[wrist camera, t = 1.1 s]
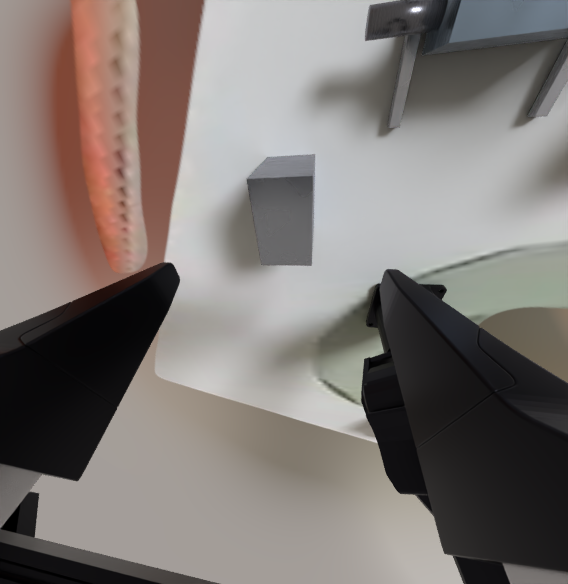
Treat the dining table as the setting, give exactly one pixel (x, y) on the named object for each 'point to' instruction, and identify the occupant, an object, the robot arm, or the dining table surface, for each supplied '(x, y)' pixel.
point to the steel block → (284, 209)
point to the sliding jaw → (469, 22)
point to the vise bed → (560, 73)
